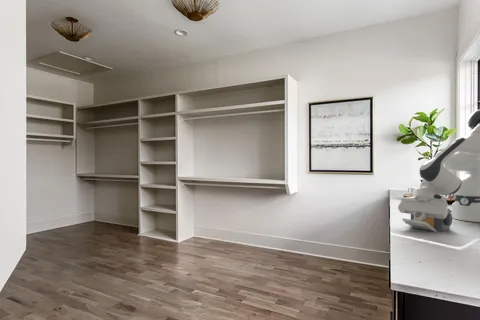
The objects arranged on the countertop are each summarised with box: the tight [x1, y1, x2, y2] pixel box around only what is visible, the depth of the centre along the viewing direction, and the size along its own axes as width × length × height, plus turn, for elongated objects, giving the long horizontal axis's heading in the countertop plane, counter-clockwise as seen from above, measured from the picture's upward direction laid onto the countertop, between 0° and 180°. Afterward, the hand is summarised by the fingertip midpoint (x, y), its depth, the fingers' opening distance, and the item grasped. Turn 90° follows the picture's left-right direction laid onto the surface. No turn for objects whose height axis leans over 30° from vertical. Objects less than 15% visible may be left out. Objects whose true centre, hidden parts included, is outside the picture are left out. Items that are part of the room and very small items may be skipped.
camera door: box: [401, 218, 438, 233], centre depth 137 cm, size 2×10×14 cm
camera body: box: [410, 207, 453, 233], centre depth 143 cm, size 9×16×11 cm, turn 36°
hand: (416, 221), depth 134 cm, fingers closed, pressing on camera door
